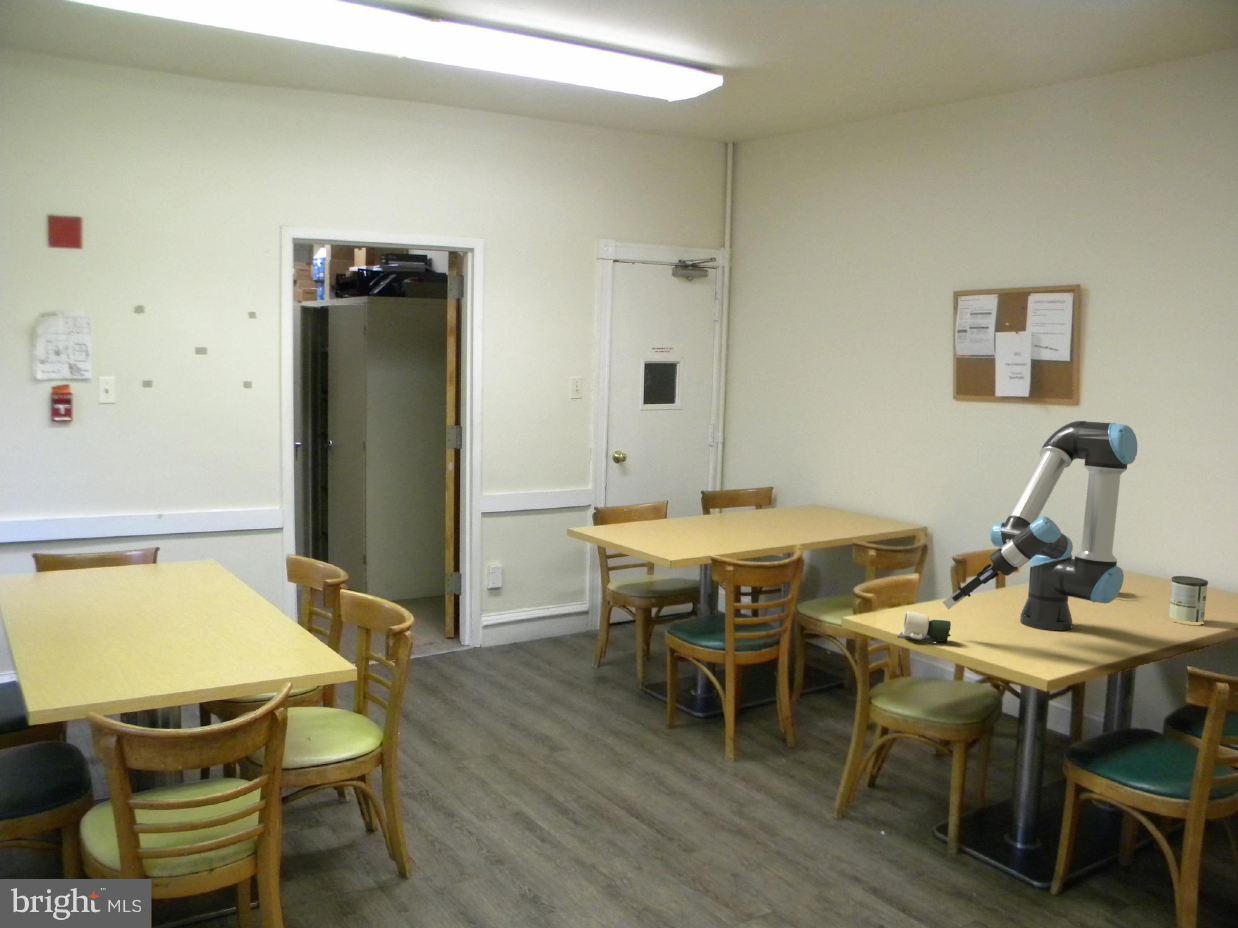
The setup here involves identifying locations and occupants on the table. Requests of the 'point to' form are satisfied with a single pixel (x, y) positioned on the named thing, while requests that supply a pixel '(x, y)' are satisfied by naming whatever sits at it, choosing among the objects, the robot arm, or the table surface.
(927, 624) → the character mug
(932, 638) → the mat
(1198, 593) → the coffee can
